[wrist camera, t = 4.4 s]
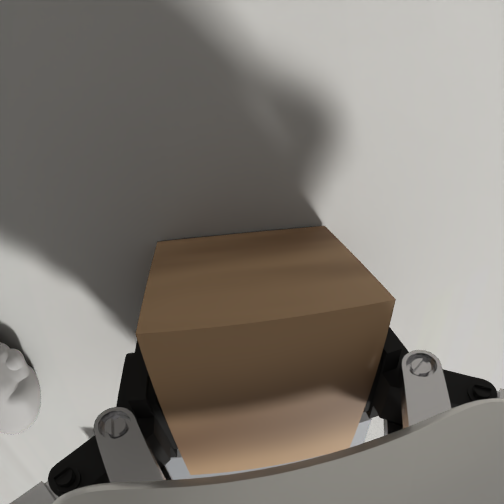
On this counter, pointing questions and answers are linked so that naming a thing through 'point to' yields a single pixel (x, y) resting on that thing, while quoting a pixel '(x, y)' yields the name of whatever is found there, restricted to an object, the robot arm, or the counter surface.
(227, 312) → the walnut brick
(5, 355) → the smooth white sculpture
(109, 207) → the counter surface
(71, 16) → the counter surface
